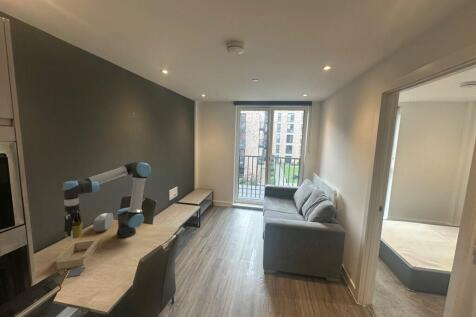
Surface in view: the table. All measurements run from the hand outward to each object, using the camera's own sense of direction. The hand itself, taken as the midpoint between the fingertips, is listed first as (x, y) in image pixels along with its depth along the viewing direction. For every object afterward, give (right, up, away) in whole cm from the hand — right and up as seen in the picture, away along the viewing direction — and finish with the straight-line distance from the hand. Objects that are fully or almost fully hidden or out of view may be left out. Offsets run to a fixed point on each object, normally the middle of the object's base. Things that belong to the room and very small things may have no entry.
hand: (74, 237), depth 136 cm
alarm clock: (-16, -13, +54) cm, 58 cm away
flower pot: (0, 0, 0) cm, 0 cm away
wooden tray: (-3, -17, +8) cm, 19 cm away
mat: (+7, -19, -9) cm, 22 cm away
